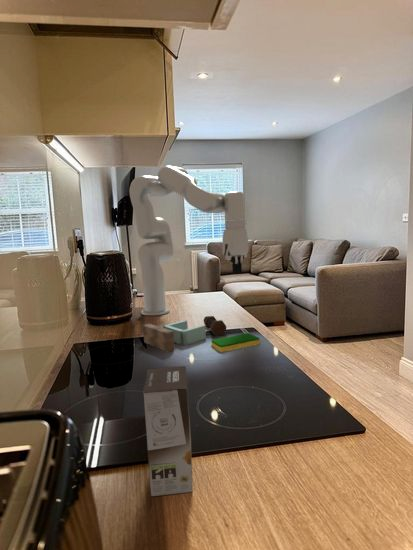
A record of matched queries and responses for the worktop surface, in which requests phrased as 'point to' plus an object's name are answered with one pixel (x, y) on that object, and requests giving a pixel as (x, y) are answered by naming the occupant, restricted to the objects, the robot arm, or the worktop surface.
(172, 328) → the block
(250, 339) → the dish sponge
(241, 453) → the worktop surface
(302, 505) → the worktop surface
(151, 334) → the wooden plank
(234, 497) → the worktop surface
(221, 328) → the bolt
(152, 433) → the coffee box
